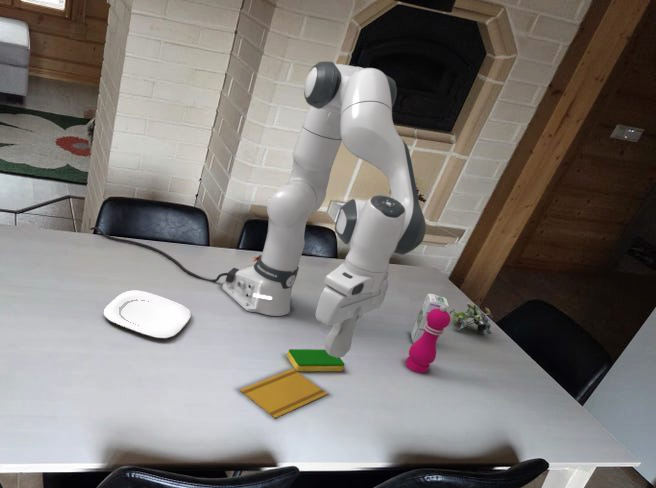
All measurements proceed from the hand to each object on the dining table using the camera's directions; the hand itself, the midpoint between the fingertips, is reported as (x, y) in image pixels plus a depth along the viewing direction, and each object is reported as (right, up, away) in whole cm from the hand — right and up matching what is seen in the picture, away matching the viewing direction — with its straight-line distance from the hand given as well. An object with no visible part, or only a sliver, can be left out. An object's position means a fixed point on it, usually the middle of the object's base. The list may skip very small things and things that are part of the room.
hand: (341, 331), depth 142 cm
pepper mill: (+31, -8, +40) cm, 52 cm away
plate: (-45, +5, +37) cm, 58 cm away
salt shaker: (-1, -5, +3) cm, 6 cm away
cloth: (-10, -14, +18) cm, 25 cm away
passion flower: (+57, +3, +65) cm, 86 cm away
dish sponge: (+1, -7, +32) cm, 33 cm away
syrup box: (+37, 0, +54) cm, 66 cm away
